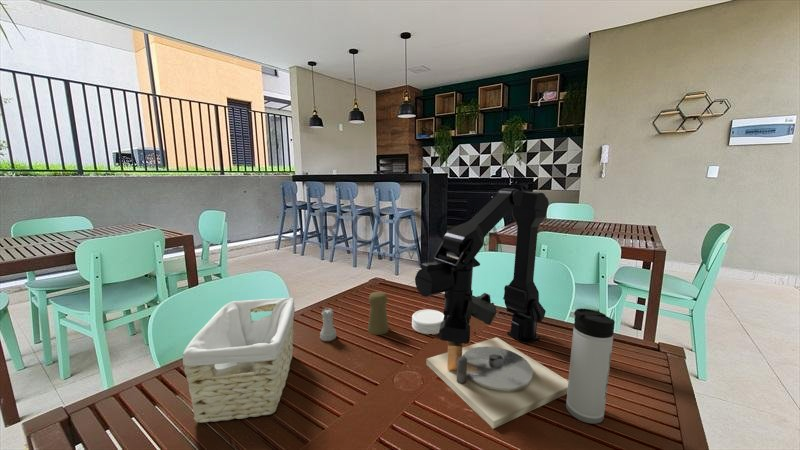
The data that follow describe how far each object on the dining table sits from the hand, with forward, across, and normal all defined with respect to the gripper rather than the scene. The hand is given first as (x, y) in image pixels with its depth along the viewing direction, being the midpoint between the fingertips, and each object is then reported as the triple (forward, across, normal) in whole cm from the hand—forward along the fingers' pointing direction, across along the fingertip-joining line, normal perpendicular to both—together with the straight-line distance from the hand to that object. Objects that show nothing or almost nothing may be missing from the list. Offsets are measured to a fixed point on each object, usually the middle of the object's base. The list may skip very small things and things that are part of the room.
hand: (454, 349), depth 77 cm
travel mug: (+3, -10, -25) cm, 27 cm away
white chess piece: (+5, +5, +34) cm, 35 cm away
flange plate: (+2, -3, -8) cm, 8 cm away
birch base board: (+3, -3, -9) cm, 10 cm away
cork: (+5, +12, +22) cm, 26 cm away
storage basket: (+5, -17, +41) cm, 45 cm away
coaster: (+5, +18, +8) cm, 20 cm away
